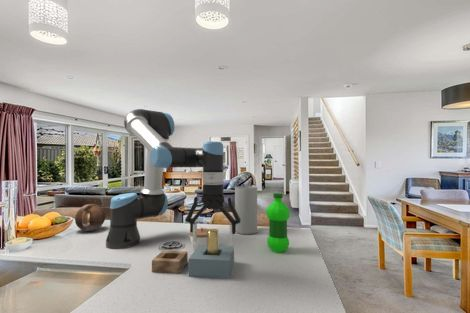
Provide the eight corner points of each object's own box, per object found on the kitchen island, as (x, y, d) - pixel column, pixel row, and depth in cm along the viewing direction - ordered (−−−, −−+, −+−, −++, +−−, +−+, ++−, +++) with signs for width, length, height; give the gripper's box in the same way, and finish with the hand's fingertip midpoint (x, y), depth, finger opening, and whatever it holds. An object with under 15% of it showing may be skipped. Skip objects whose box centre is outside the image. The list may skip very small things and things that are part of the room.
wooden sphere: (87, 226, 150) (88, 201, 150) (110, 227, 148) (111, 202, 148) (67, 233, 135) (68, 206, 135) (93, 235, 133) (93, 206, 133)
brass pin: (206, 270, 89) (206, 231, 89) (208, 266, 93) (208, 228, 93) (217, 271, 89) (217, 231, 89) (218, 266, 93) (219, 228, 93)
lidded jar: (204, 243, 119) (204, 223, 120) (218, 249, 112) (218, 227, 112) (184, 248, 112) (185, 227, 112) (199, 255, 104) (199, 232, 104)
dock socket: (188, 276, 85) (188, 258, 85) (198, 260, 99) (198, 245, 99) (229, 278, 83) (229, 260, 83) (233, 261, 97) (234, 246, 97)
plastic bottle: (270, 245, 117) (270, 191, 117) (292, 248, 112) (292, 193, 113) (263, 252, 108) (262, 194, 108) (287, 256, 103) (286, 195, 104)
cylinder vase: (243, 227, 148) (243, 185, 149) (261, 231, 141) (261, 186, 142) (230, 232, 138) (230, 187, 139) (249, 236, 131) (249, 188, 131)
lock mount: (151, 271, 88) (151, 260, 88) (162, 260, 98) (163, 250, 98) (179, 273, 87) (179, 261, 87) (187, 261, 97) (187, 251, 97)
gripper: (176, 184, 89) (176, 243, 89) (246, 185, 87) (246, 246, 86) (183, 182, 97) (183, 237, 96) (247, 183, 94) (247, 239, 93)
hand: (212, 241), depth 91 cm, fingers open, 13 cm apart
